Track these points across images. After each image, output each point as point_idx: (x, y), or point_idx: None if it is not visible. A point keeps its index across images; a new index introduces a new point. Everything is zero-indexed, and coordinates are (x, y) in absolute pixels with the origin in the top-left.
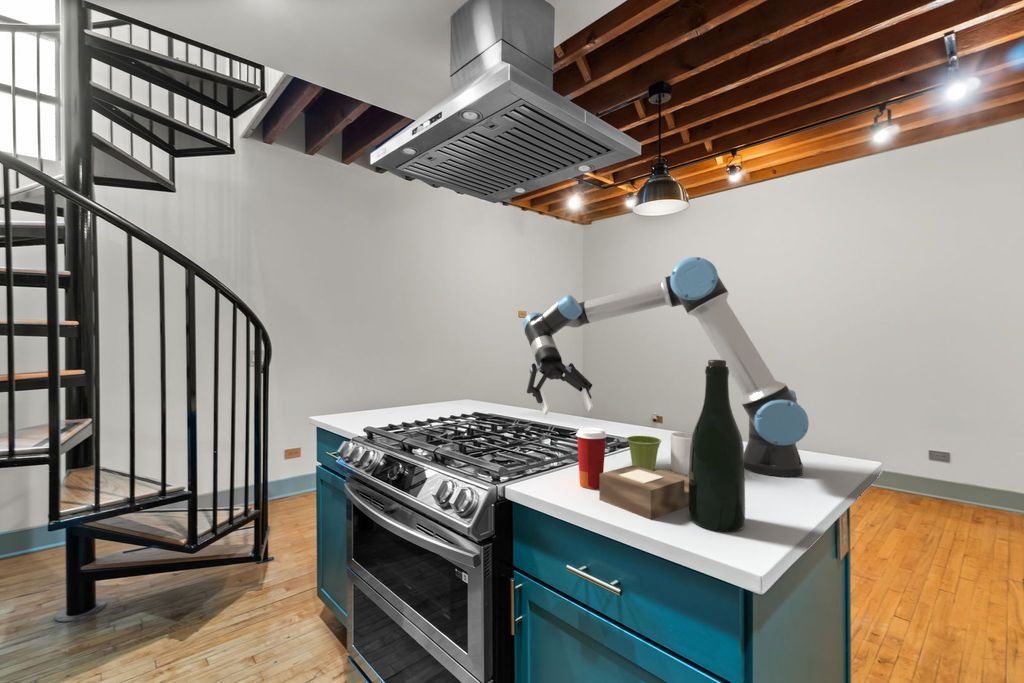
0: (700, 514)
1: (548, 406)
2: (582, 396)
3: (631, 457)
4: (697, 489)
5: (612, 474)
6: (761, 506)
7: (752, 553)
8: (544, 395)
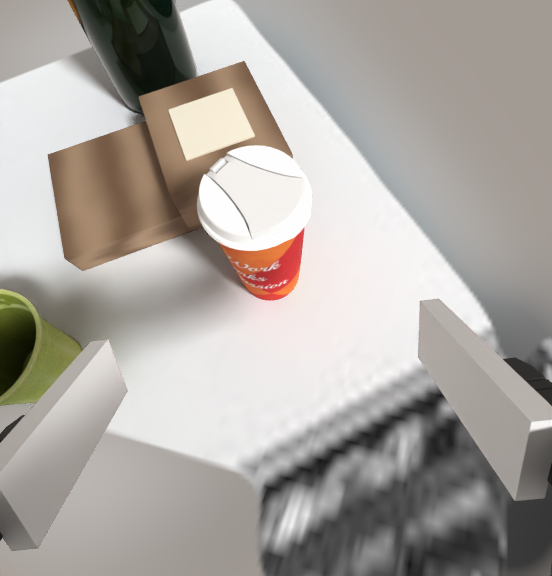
0: (193, 57)
1: (432, 309)
2: (58, 479)
3: (63, 371)
4: (181, 21)
5: (265, 144)
6: (37, 122)
7: (193, 23)
8: (488, 366)
